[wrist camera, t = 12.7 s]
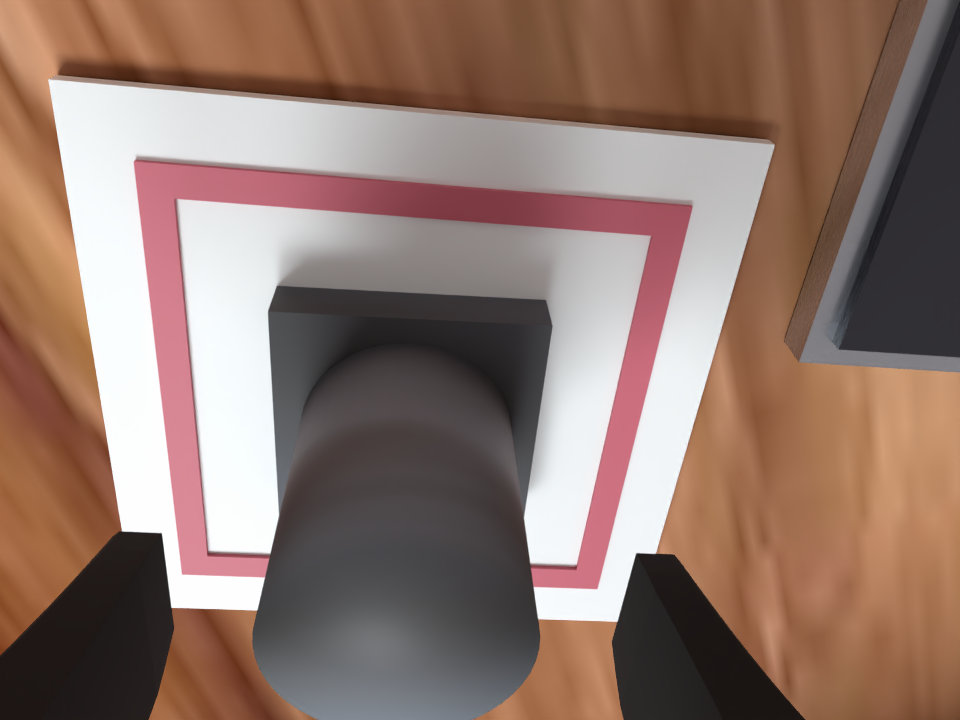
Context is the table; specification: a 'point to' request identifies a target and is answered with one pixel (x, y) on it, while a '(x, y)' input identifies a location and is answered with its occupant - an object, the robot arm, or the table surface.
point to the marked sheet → (394, 268)
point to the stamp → (401, 502)
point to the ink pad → (894, 213)
